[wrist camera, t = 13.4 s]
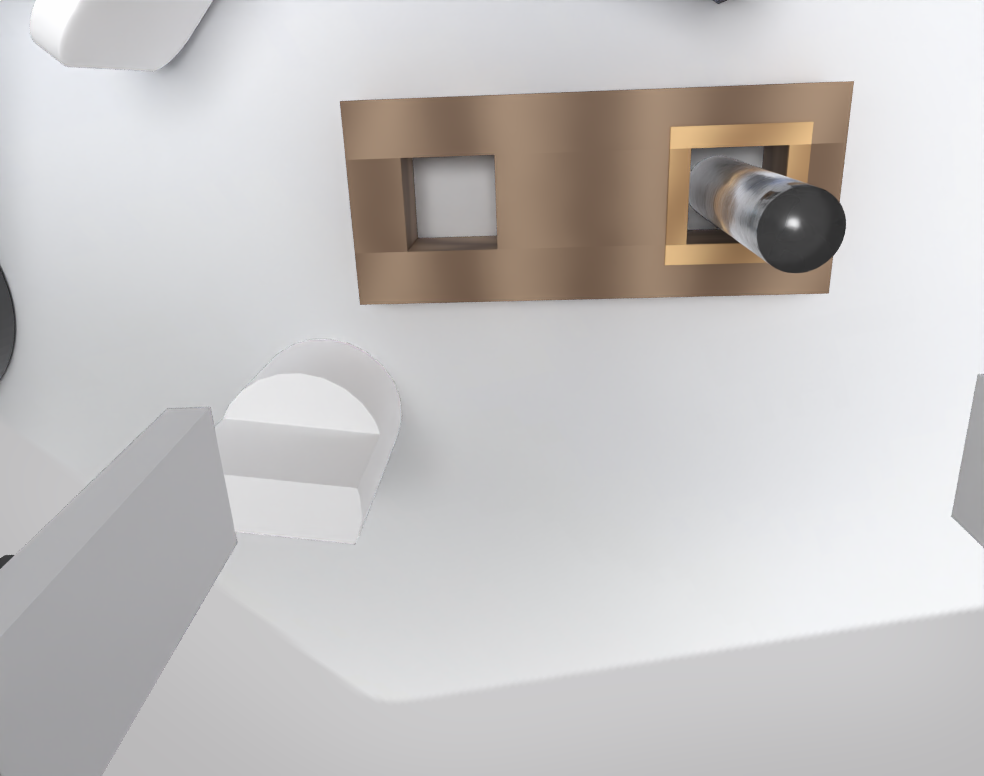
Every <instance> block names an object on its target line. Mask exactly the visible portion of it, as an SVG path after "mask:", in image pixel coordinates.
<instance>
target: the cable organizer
mask: <svg viewBox="0 0 984 776" xmlns="http://www.w3.org/2000/svg"><path fill="white" fill-rule="evenodd" d="M212 1H213V0H35V3H34V5H33V8H32V12H31V16H30V24H29V29H30V35H31V38H32V40H33V41H34V42H35V43H36V44H37V45H38V46H40V47H41V48H42V49H43V50H45V51H46V52H47V53H49V54H50V55H51V56H52V57H54V58H55V59H56V60H57V61H59V62H60V63H61V64H62V65H64V66H67V67H78V68H97V69H115V70H134V71H156V70H158V69H160V68H162V67H164V66H165V65H166V64H167V63H169V62H170V61H171V60H172V59H173V58H174V57H175V56H176V55H177V54H178V53H179V52H180V50H181V49H182V48H183V46H184V45H185V44H186V42H187V41H188V40H189V38H190V37H191V35H192V33H193V32H194V30H195V29H196V27H197V25H198V24H199V22H200V21H201V19H202V17H203V16H204V14H205V13H206V11H207V9H208V8H209V6H210V5H211V3H212Z"/></svg>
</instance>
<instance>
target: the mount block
mask: <svg viewBox="0 0 984 776" xmlns="http://www.w3.org/2000/svg"><path fill="white" fill-rule="evenodd" d="M853 85H854V81H850V82H819V83H793V84H767V85H741V86H715V87H690V88H664V89H638V90H612V91H587V92H561V93H535V94H509V95H483V96H458V97H432V98H406V99H380V100H355V101H340V107H341V117H342V127H343V137H344V148H345V158H346V168H347V178H348V188H349V198H350V208H351V218H352V228H353V238H354V248H355V258H356V269H357V279H358V289H359V299H360V305H367V304H408V303H450V302H491V301H533V300H574V299H616V298H657V297H698V296H740V295H781V294H823V293H829V286H830V277H831V269H832V260H833V257H832V258H831V259H830V260H828V261H827V262H826V263H825V264H823V265H822V266H820V267H818V268H816V269H814V270H811V271H809V272H804V273H787V272H783V271H780V270H778V269H776V268H774V267H773V266H771V265H770V264H768V263H767V262H766V261H764V260H763V259H761V258H760V257H759V256H757V255H756V254H755V253H753V252H752V251H750V250H749V249H748V248H746V247H745V246H744V245H742V244H741V243H739V242H738V241H737V240H735V239H734V238H733V237H731V236H730V235H728V234H727V233H726V232H724V231H723V230H721V229H715V230H687V221H688V202H689V182H690V163H691V148H715V147H744V146H764V154H763V166H762V169H765V170H768V171H771V172H774V173H777V174H780V175H783V176H786V177H789V178H792V179H795V180H798V181H801V182H804V183H807V184H810V185H813V186H816V187H819V188H822V189H824V190H826V191H828V192H829V193H831V194H832V195H833V196H834V197H836V199H837V200H838V201H839V202H840V193H841V185H842V177H843V168H844V160H845V152H846V143H847V135H848V126H849V118H850V110H851V101H852V93H853ZM474 155H494V159H495V189H496V218H497V236H472V237H437V238H418V232H417V218H416V204H415V189H414V175H413V161H412V158H416V157H445V156H474Z"/></svg>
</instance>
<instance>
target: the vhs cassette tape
mask: <svg viewBox="0 0 984 776" xmlns="http://www.w3.org/2000/svg"><path fill="white" fill-rule="evenodd" d="M713 1H714V2H716V3H718V4H719V3H721V2H725V1H727V0H713Z"/></svg>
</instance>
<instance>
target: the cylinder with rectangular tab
mask: <svg viewBox="0 0 984 776" xmlns="http://www.w3.org/2000/svg"><path fill="white" fill-rule="evenodd" d="M401 419H402V411H401V400H400V396H399V394H398V391H397V388H396V386H395V383H394V381H393V379H392V378H391V377H390V375H389V374H388V372H387V371H386V370H385V368H384V367H383V365H381V364H380V363H379V362H378V361H377V360H376V359H374V358H373V357H372V356H371V355H370V354H369V353H367V352H365V351H363V350H361V349H359V348H357V347H355V346H353V345H351V344H349V343H345V342H341V341H336V340H332V339H310V340H307V341H303V342H300V343H296V344H293V345H291V346H289V347H288V348H286V349H284V350H283V351H281V352H280V353H278V354H277V355H276V356H275V357H274V358H273V359H272V360H271V361H270V362H269V363H268V364H267V365H266V366H265V367H264V368H263V369H262V370H261V371H260V372H259V373H258V374H257V375H256V376H255V377H254V378H253V379H252V380H251V381H250V382H249V383H248V385H247V386H246V387H245V388H244V389H243V390H242V391H241V392H240V393H239V394H238V395H237V397H236V398H235V399H234V400H233V401H232V402H231V403H230V405H229V406H228V408H227V410H226V413H225V415H224V417H223V419H222V420H221V421H220V422H219V423H218V424H217V425H216V426H215V432H216V437H217V442H218V448H219V453H220V458H221V463H222V468H223V473H224V478H225V483H226V488H227V493H228V498H229V503H230V508H231V513H232V519H233V524H234V529H235V532H240V533H249V534H259V535H269V536H278V537H288V538H298V539H307V540H317V541H327V542H337V543H346V544H356V542H357V540H358V538H359V536H360V533H361V530H362V528H363V525H364V523H365V520H366V517H367V515H368V512H369V510H370V507H371V504H372V502H373V499H374V497H375V494H376V491H377V489H378V486H379V484H380V481H381V478H382V476H383V473H384V471H385V468H386V465H387V463H388V460H389V458H390V455H391V452H392V450H393V447H394V445H395V442H396V439H397V437H398V434H399V429H400V424H401Z"/></svg>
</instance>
